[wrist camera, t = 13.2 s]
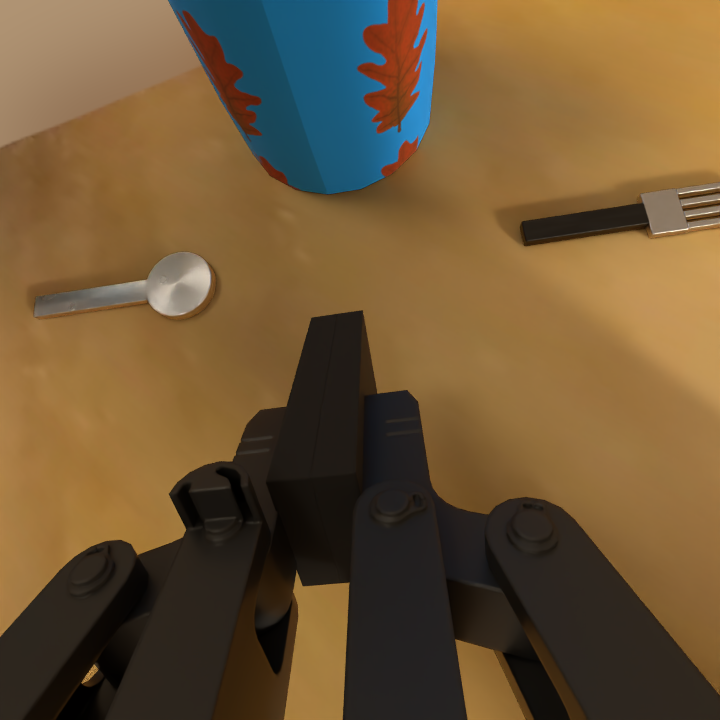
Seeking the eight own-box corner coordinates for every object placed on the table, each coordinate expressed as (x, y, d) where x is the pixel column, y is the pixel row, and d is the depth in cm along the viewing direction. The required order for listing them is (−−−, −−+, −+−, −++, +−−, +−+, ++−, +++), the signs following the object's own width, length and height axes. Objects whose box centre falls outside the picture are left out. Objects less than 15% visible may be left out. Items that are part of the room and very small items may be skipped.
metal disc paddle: (36, 340, 24) (27, 337, 24) (43, 279, 25) (34, 274, 25) (216, 314, 23) (211, 310, 23) (216, 251, 24) (211, 246, 24)
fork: (525, 256, 22) (528, 251, 22) (517, 216, 23) (519, 211, 22) (749, 224, 21) (757, 218, 21) (734, 183, 22) (741, 176, 21)
